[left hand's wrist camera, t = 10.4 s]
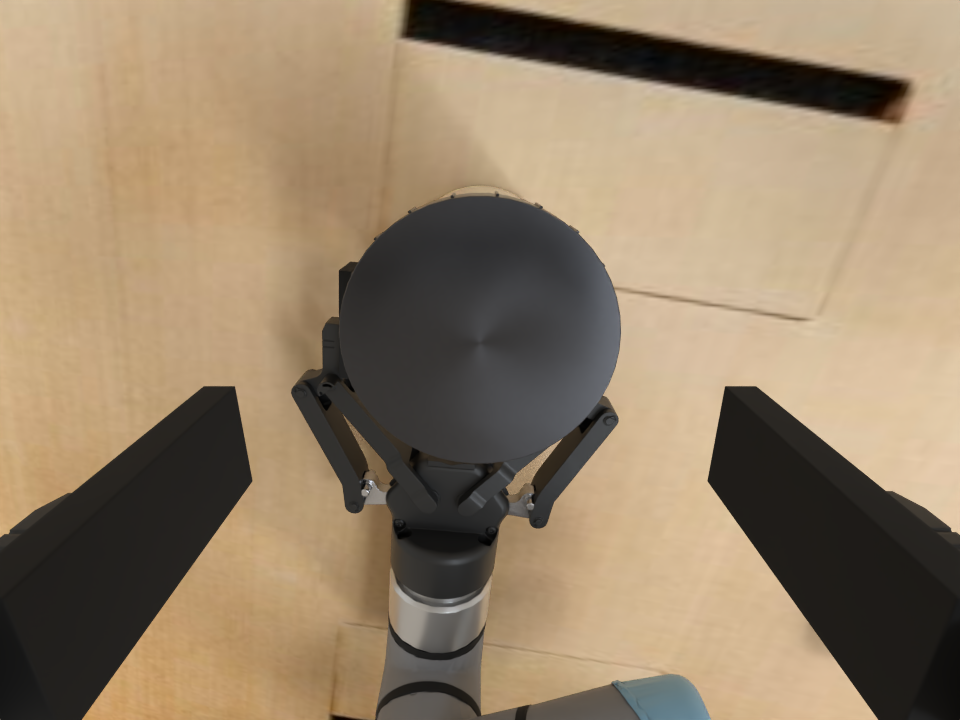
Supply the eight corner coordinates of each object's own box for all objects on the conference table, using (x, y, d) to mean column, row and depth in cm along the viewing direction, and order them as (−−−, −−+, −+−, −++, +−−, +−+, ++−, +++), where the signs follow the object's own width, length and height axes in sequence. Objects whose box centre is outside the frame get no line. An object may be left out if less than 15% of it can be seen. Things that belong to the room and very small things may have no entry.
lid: (634, 397, 23) (650, 421, 21) (408, 466, 24) (401, 495, 22) (569, 150, 19) (580, 148, 17) (307, 245, 21) (287, 255, 18)
